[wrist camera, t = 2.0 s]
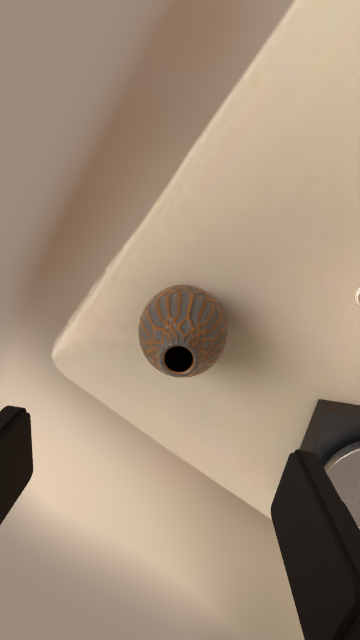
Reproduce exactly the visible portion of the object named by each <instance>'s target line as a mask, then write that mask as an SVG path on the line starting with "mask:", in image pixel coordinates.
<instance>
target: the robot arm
mask: <svg viewBox="0 0 360 640" xmlns="http://www.w3.org/2000/svg"><path fill="white" fill-rule="evenodd" d="M32 473H33V458H32V439H31V420H30V414H29V413H27V412H26V409H25V408H21V407H14V406H6V407H4V408H3V409H2V410H1V411H0V524H1V523H2V521H3V520H4V518H5V517H6V515H7V514H8V512H9V511H10V509H11V508H12V506H13V505H14V503H15V502H16V500H17V499H18V497H19V496H20V494H21V493H22V491H23V490H24V488H25V487H26V485H27V483H28V482H29V480H30V478H31V476H32ZM271 517H272V521H273V525H274V528H275V532H276V536H277V539H278V543H279V546H280V550H281V554H282V558H283V561H284V565H285V569H286V572H287V576H288V580H289V583H290V587H291V591H292V594H293V598H294V601H295V605H296V609H297V613H298V616H299V620H300V624H301V627H302V631H303V635H304V639H305V640H360V529H359V528H358V526H357V524H356V522H355V520H354V519H353V517H352V515H351V513H350V511H349V510H348V508H347V506H346V505H345V503H344V502H343V501H342V500H341V498H340V496H339V494H338V493H337V491H336V489H335V487H334V485H333V484H332V482H331V480H330V478H329V476H328V474H327V473H326V471H325V469H324V467H323V465H322V464H321V462H320V460H319V458H318V456H317V455H316V453H314V452H312V451H305V450H298V449H297V450H295V452H294V453H291V454H290V455H289V458H288V461H287V463H286V466H285V469H284V472H283V474H282V477H281V480H280V483H279V486H278V488H277V491H276V494H275V497H274V499H273V502H272V505H271Z"/></svg>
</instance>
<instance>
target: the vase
mask: <svg viewBox="0 0 360 640" xmlns="http://www.w3.org/2000/svg"><path fill="white" fill-rule="evenodd" d="M226 339H227V323H226V318H225V315H224V313H223V310H222V308H221V307H220V305H219V303H218V302H217V301H216V300H215V298H214V297H213V296H211V295H210V294H209V293H207V292H206V291H204V290H202V289H200V288H197V287H194V286H189V285H178V286H173V287H169V288H167V289H165V290H163V291H161V292H159V293H158V294H157V295H156V296H154V297H153V298H152V299H151V300H150V302H149V303H148V304H147V306H146V307H145V309H144V311H143V313H142V315H141V318H140V323H139V340H140V345H141V348H142V351H143V353H144V355H145V356H146V358H147V359H148V361H149V362H150V363H151V364H152V365H153V366H154V367H155V368H156V369H158V370H159V371H161V372H163V373H165V374H167V375H170V376H174V377H191V376H195V375H198V374H201V373H203V372H204V371H206V370H208V369H209V368H210V367H211V366H212V365H213V364H214V363H215V362H216V361H217V360H218V358H219V357H220V355H221V353H222V351H223V349H224V347H225V344H226Z"/></svg>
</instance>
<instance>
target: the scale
mask: <svg viewBox="0 0 360 640" xmlns="http://www.w3.org/2000/svg"><path fill="white" fill-rule="evenodd" d="M358 441H360V406H357V405H351V404H344V403H338V402H332V401H326V400H319V401H318V403H317V406H316V409H315V411H314V414H313V416H312V419H311V422H310V424H309V427H308V429H307V432H306V435H305V437H304V440H303V442H302V445H301V448H300V450H305V451H312V452H314V453H316V455H317V456H318V458H319V460H320V462H321V464H322V465H323V466H324V465H325V463H326V462H327V461H328V460H329V459H330V458H331V457H332V456H333V455H334V454H335V453H337V452H338V451H340V450H341V449H343V448H344V447H346V446H348V445H350V444H353V443H355V442H358Z"/></svg>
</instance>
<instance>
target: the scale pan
mask: <svg viewBox="0 0 360 640" xmlns="http://www.w3.org/2000/svg"><path fill="white" fill-rule="evenodd" d="M323 467H324V469H325V471H326V473H327V474H328V476H329V478H330V480H331V482H332V484H333V485H334V487H335V489H336V491H337V493H338V494H339V496H340V498H341V500H342V501H343V502H344V503H345V505H346V506H347V508H348V510H349V511H350V513H351V515H352V517H353V519H354V520H355V522H356V524H357V526H358V527H360V441H358V442H355V443H353V444H350V445H348V446H346V447H344V448H343V449H341V450H340V451H338V452H337V453H335V454H334V455H333V456H332V457H331V458H330V459H329V460H328V461H327V462H326V463H325V465H324V466H323Z"/></svg>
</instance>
